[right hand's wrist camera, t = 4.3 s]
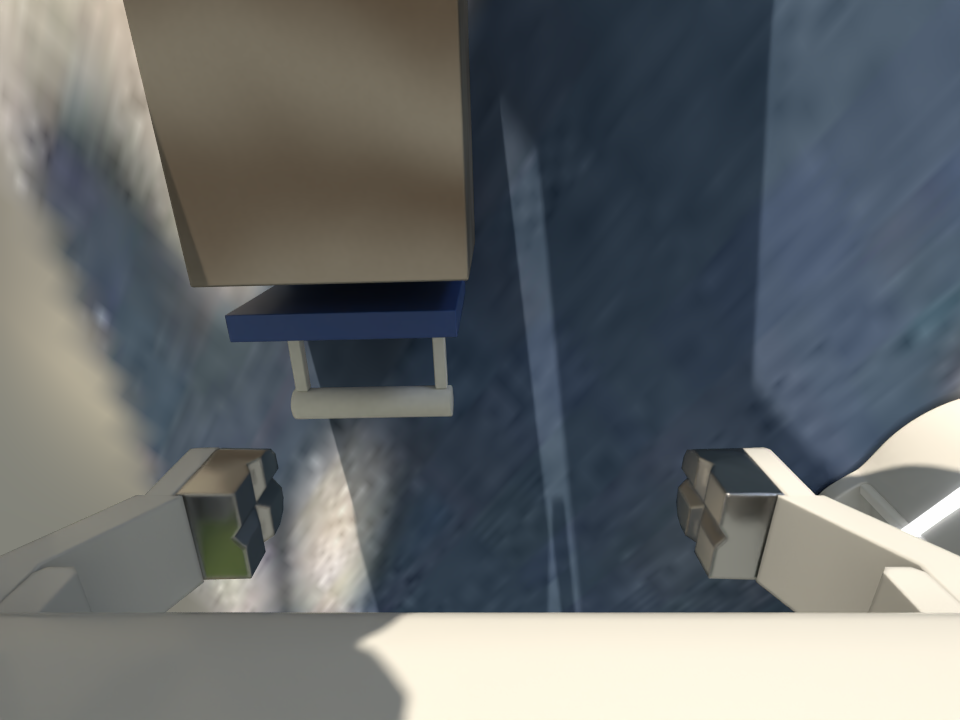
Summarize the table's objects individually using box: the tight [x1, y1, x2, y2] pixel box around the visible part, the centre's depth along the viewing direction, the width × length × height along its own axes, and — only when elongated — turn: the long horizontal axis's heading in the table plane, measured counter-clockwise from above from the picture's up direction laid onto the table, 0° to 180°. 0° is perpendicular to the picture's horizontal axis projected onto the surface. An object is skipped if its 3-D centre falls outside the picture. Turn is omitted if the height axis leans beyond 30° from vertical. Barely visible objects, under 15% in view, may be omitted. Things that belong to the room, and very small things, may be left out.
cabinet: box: [123, 0, 475, 287], centre depth 21 cm, size 20×11×9 cm, turn 2°
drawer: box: [225, 281, 465, 419], centre depth 23 cm, size 24×10×8 cm, turn 2°
